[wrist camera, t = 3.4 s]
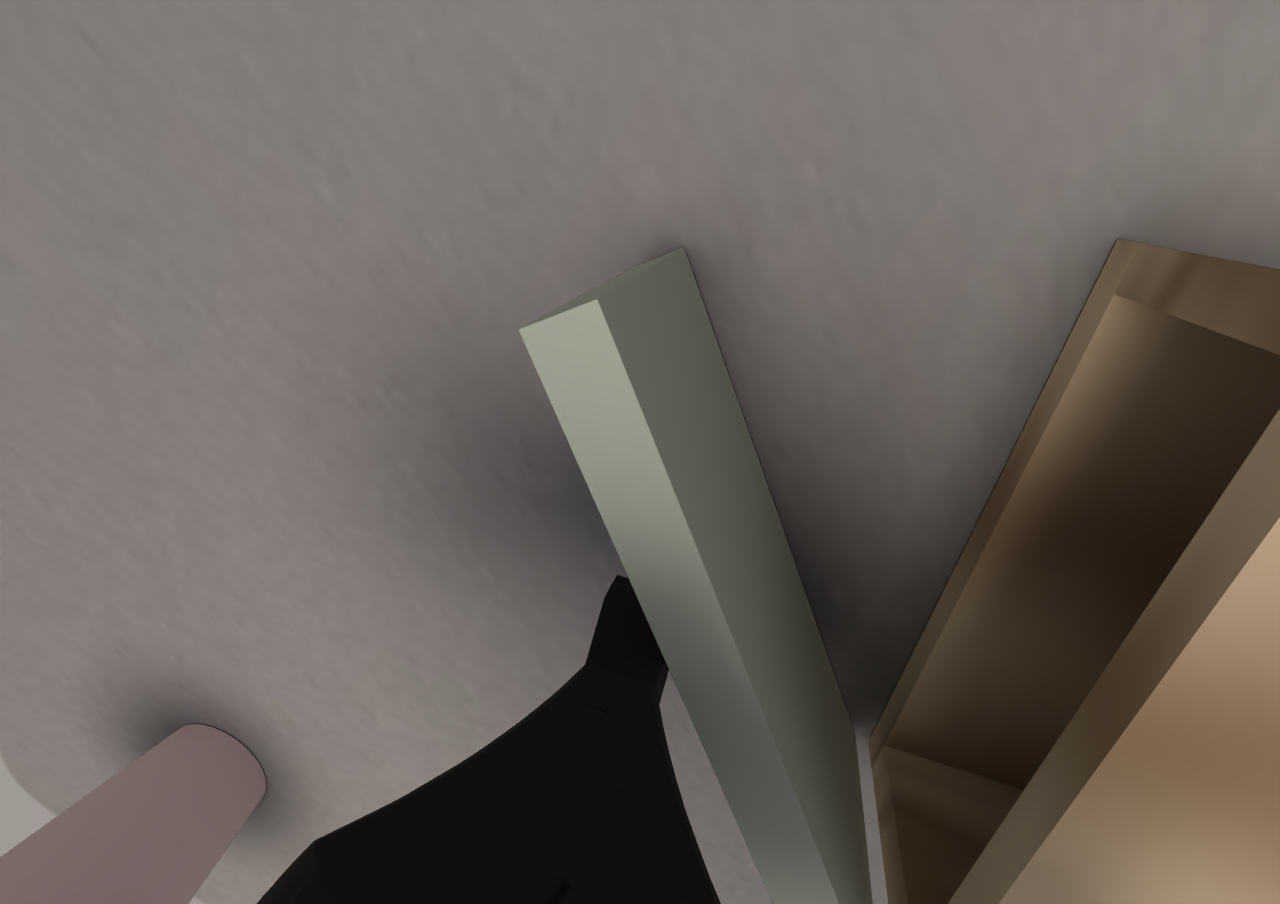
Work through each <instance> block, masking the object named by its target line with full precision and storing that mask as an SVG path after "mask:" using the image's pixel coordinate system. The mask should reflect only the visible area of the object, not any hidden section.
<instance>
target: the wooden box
mask: <svg viewBox="0 0 1280 904" xmlns="http://www.w3.org/2000/svg"><path fill="white" fill-rule="evenodd" d="M869 749H870V757H871V765H872V773H873V781H874V790H875V798H876V806H877V814H878V822H879V830H880V838H881V846H882V854H883V862H884V871H885V879H886V887H887V895H888V903H889V904H1280V270H1278V269H1273V268H1268V267H1263V266H1257V265H1252V264H1247V263H1242V262H1237V261H1231V260H1226V259H1221V258H1216V257H1210V256H1205V255H1200V254H1195V253H1190V252H1184V251H1179V250H1174V249H1169V248H1163V247H1158V246H1153V245H1148V244H1143V243H1137V242H1132V241H1127V240H1122V239H1117V241H1116V243H1115V245H1114V247H1113V249H1112V251H1111V253H1110V255H1109V257H1108V259H1107V261H1106V263H1105V265H1104V267H1103V269H1102V272H1101V274H1100V276H1099V278H1098V280H1097V282H1096V284H1095V286H1094V288H1093V290H1092V292H1091V294H1090V296H1089V298H1088V300H1087V302H1086V304H1085V306H1084V308H1083V310H1082V312H1081V314H1080V316H1079V318H1078V320H1077V322H1076V324H1075V326H1074V328H1073V330H1072V332H1071V334H1070V336H1069V338H1068V340H1067V342H1066V344H1065V346H1064V348H1063V350H1062V352H1061V354H1060V356H1059V358H1058V360H1057V362H1056V364H1055V366H1054V369H1053V371H1052V373H1051V375H1050V377H1049V379H1048V381H1047V383H1046V385H1045V387H1044V389H1043V391H1042V393H1041V395H1040V397H1039V399H1038V401H1037V403H1036V405H1035V407H1034V409H1033V411H1032V413H1031V415H1030V417H1029V419H1028V421H1027V423H1026V425H1025V427H1024V429H1023V431H1022V433H1021V435H1020V437H1019V439H1018V441H1017V443H1016V445H1015V447H1014V449H1013V451H1012V453H1011V455H1010V457H1009V459H1008V461H1007V463H1006V465H1005V468H1004V470H1003V472H1002V474H1001V476H1000V478H999V480H998V482H997V484H996V486H995V488H994V490H993V492H992V494H991V496H990V498H989V500H988V502H987V504H986V506H985V508H984V510H983V512H982V514H981V516H980V518H979V520H978V522H977V524H976V526H975V528H974V530H973V532H972V534H971V536H970V538H969V540H968V542H967V544H966V546H965V548H964V550H963V552H962V554H961V556H960V558H959V560H958V562H957V564H956V567H955V569H954V571H953V573H952V575H951V577H950V579H949V581H948V583H947V585H946V587H945V589H944V591H943V593H942V595H941V597H940V599H939V601H938V603H937V605H936V607H935V609H934V611H933V613H932V615H931V617H930V619H929V621H928V623H927V625H926V627H925V629H924V631H923V633H922V635H921V637H920V639H919V641H918V643H917V645H916V647H915V649H914V651H913V653H912V655H911V657H910V659H909V661H908V664H907V666H906V668H905V670H904V672H903V674H902V676H901V678H900V680H899V682H898V684H897V686H896V688H895V690H894V692H893V694H892V696H891V698H890V700H889V702H888V704H887V706H886V708H885V710H884V712H883V714H882V716H881V718H880V720H879V722H878V724H877V726H876V728H875V730H874V732H873V734H872V736H871V738H870V740H869Z"/></svg>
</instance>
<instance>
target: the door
mask: <svg viewBox="0 0 1280 904" xmlns="http://www.w3.org/2000/svg"><path fill="white" fill-rule="evenodd" d="M518 330H519V332H520V334H521V336H522V339H523V341H524V343H525V345H526V348H527V350H528V352H529V354H530V357H531V359H532V361H533V363H534V366H535V368H536V370H537V372H538V375H539V377H540V379H541V381H542V384H543V386H544V388H545V391H546V393H547V395H548V397H549V400H550V402H551V404H552V406H553V409H554V411H555V413H556V415H557V418H558V420H559V422H560V424H561V427H562V429H563V431H564V433H565V436H566V438H567V440H568V442H569V445H570V447H571V449H572V451H573V454H574V456H575V458H576V460H577V463H578V465H579V467H580V469H581V472H582V474H583V476H584V479H585V481H586V483H587V485H588V488H589V490H590V492H591V494H592V497H593V499H594V501H595V503H596V506H597V508H598V510H599V512H600V515H601V517H602V519H603V521H604V524H605V526H606V528H607V530H608V533H609V535H610V537H611V539H612V542H613V544H614V546H615V548H616V551H617V553H618V555H619V557H620V560H621V562H622V564H623V567H624V569H625V571H626V573H627V576H628V578H629V580H630V582H631V585H632V587H633V589H634V591H635V594H636V596H637V598H638V600H639V603H640V605H641V607H642V609H643V612H644V614H645V616H646V618H647V621H648V623H649V625H650V627H651V630H652V632H653V634H654V636H655V639H656V641H657V643H658V645H659V648H660V650H661V652H662V655H663V657H664V659H665V661H666V664H667V666H668V668H669V670H670V673H671V675H672V677H673V679H674V682H675V684H676V686H677V688H678V691H679V693H680V695H681V697H682V700H683V702H684V704H685V706H686V709H687V711H688V713H689V715H690V718H691V720H692V722H693V724H694V727H695V729H696V731H697V733H698V736H699V738H700V740H701V742H702V745H703V747H704V749H705V752H706V754H707V756H708V758H709V761H710V763H711V765H712V767H713V770H714V772H715V774H716V776H717V779H718V781H719V783H720V785H721V788H722V790H723V792H724V794H725V797H726V799H727V801H728V803H729V806H730V808H731V810H732V812H733V815H734V817H735V819H736V821H737V824H738V826H739V828H740V830H741V833H742V835H743V837H744V840H745V842H746V844H747V846H748V849H749V851H750V853H751V855H752V858H753V860H754V862H755V864H756V867H757V869H758V871H759V873H760V876H761V878H762V880H763V882H764V885H765V887H766V889H767V891H768V894H769V896H770V898H771V900H772V903H773V904H873V903H872V894H871V884H870V874H869V864H868V854H867V844H866V834H865V824H864V815H863V805H862V795H861V785H860V775H859V765H858V755H857V745H856V736H855V732H854V729H853V726H852V724H851V721H850V718H849V715H848V712H847V709H846V707H845V704H844V701H843V698H842V695H841V692H840V690H839V687H838V684H837V681H836V678H835V675H834V672H833V670H832V667H831V664H830V661H829V658H828V655H827V653H826V650H825V647H824V644H823V641H822V638H821V636H820V633H819V630H818V627H817V624H816V621H815V619H814V616H813V613H812V610H811V607H810V604H809V601H808V599H807V596H806V593H805V590H804V587H803V584H802V582H801V579H800V576H799V573H798V570H797V567H796V565H795V562H794V559H793V556H792V553H791V550H790V547H789V545H788V542H787V539H786V536H785V533H784V530H783V528H782V525H781V522H780V519H779V516H778V513H777V511H776V508H775V505H774V502H773V499H772V496H771V494H770V491H769V488H768V485H767V482H766V479H765V476H764V474H763V471H762V468H761V465H760V462H759V459H758V457H757V454H756V451H755V448H754V445H753V442H752V440H751V437H750V434H749V431H748V428H747V425H746V422H745V420H744V417H743V414H742V411H741V408H740V405H739V403H738V400H737V397H736V394H735V391H734V388H733V386H732V383H731V380H730V377H729V374H728V371H727V369H726V366H725V363H724V360H723V357H722V354H721V351H720V349H719V346H718V343H717V340H716V337H715V334H714V332H713V329H712V326H711V323H710V320H709V317H708V315H707V312H706V309H705V306H704V303H703V300H702V298H701V295H700V292H699V289H698V286H697V283H696V280H695V278H694V275H693V272H692V269H691V266H690V263H689V261H688V258H687V255H686V252H685V249H684V247H682V248H680V249H677V250H675V251H672V252H670V253H667V254H665V255H662V256H660V257H657V258H655V259H652V260H650V261H647V262H645V263H642V264H640V265H637V266H635V267H633V268H631V269H629V270H627V271H626V272H624V273H622V274H620V275H618V276H616V277H615V278H613V279H611V280H609V281H607V282H605V283H603V284H602V285H600V286H598V287H596V288H594V289H592V290H591V291H589V292H587V293H585V294H583V295H581V296H579V297H578V298H576V299H574V300H572V301H570V302H568V303H567V304H565V305H563V306H561V307H559V308H557V309H555V310H554V311H552V312H550V313H548V314H546V315H544V316H542V317H541V318H539V319H537V320H535V321H533V322H531V323H530V324H528V325H526V326H524V327H522V328H520V329H518Z"/></svg>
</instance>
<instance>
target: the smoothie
mask: <svg viewBox="0 0 1280 904" xmlns="http://www.w3.org/2000/svg"><path fill="white" fill-rule="evenodd" d="M265 791H266V779H265V775H264V772H263V770H262V768H261V766H260V764H259V763H258V761H257V760H256V758H255V757H254V756H253V755H252V754H251V752H250V751H249V750H248V749H247V748H246V747H245V746H243V745H242V744H241V743H240V742H239V741H237V740H236V739H234V738H233V737H231V736H230V735H228V734H226V733H225V732H223V731H221V730H218V729H216V728H213V727H210V726H206V725H200V724H191V725H186V726H183V727H181V728H180V729H178V730H177V731H175V732H174V733H173V734H171V735H170V736H168V737H167V738H166V739H164V740H163V741H161V742H160V743H159V744H157V745H156V746H154V747H153V748H152V749H150V750H149V751H147V752H146V753H145V754H143V755H142V756H141V757H139V758H138V759H136V760H135V761H134V762H132V763H131V764H129V765H128V766H127V767H125V768H124V769H122V770H121V771H120V772H118V773H117V774H115V775H114V776H113V777H111V778H110V779H108V780H107V781H106V782H104V783H103V784H101V785H100V786H99V787H97V788H96V789H95V790H93V791H92V792H90V793H89V794H88V795H86V796H85V797H83V798H82V799H81V800H79V801H78V802H76V803H75V804H74V805H72V806H71V807H69V808H68V809H67V810H65V811H64V812H62V813H61V814H60V815H58V816H57V817H56V818H54V819H53V820H51V821H50V822H49V823H47V824H46V825H45V826H43V827H42V828H40V829H39V830H37V831H36V832H35V833H33V834H32V835H31V836H29V837H28V838H26V839H25V840H24V841H22V842H21V843H19V844H18V845H17V846H15V847H14V848H12V849H11V850H10V851H8V852H7V853H5V854H4V855H3V856H1V857H0V904H189V902H190V901H191V899H192V898H193V897H194V895H195V894H196V892H197V891H198V889H199V888H200V887H201V885H202V884H203V882H204V881H205V879H206V878H207V876H208V875H209V874H210V872H211V871H212V869H213V868H214V866H215V865H216V863H217V862H218V861H219V859H220V858H221V856H222V855H223V853H224V852H225V851H226V849H227V848H228V846H229V845H230V843H231V842H232V840H233V839H234V838H235V836H236V835H237V833H238V832H239V830H240V829H241V827H242V826H243V825H244V823H245V822H246V820H247V819H248V817H249V816H250V815H251V813H252V812H253V810H254V809H255V807H256V806H257V804H258V803H259V802H260V800H261V799H262V797H263V796H264V794H265Z"/></svg>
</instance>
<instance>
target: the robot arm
mask: <svg viewBox="0 0 1280 904" xmlns="http://www.w3.org/2000/svg"><path fill="white" fill-rule="evenodd" d="M668 671H669V668H668V666H667V664H666V661H665V659H664V657H663V655H662V652H661V650H660V648H659V645H658V643H657V641H656V639H655V636H654V634H653V632H652V630H651V627H650V625H649V623H648V621H647V618H646V616H645V614H644V612H643V609H642V607H641V605H640V603H639V600H638V598H637V596H636V594H635V591H634V589H633V587H632V585H631V582H630V580H629V578H626V577H622V576H619V575H617V576H616V578H615V580H614V581H613V583H612V585H611V587H610V589H609V590H608V592H607V594H606V596H605V598H604V602H603V605H602V608H601V612H600V615H599V619H598V622H597V626H596V629H595V633H594V636H593V639H592V643H591V646H590V650H589V653H588V657H587V660H586V664H585V665H584V666H583V667H582V668H581V669H580V670H579V671H578V672H577V673H576V674H575V675H574V676H573V677H572V678H571V679H570V680H569V681H568V682H567V683H566V684H564V685H563V686H562V687H561V688H560V689H559V690H558V691H557V692H556V693H554V694H553V695H552V696H551V697H550V698H549V699H547V700H546V701H545V702H544V703H543V704H541V705H540V706H539V707H538V708H537V709H535V710H534V711H533V712H532V713H530V714H529V715H528V716H526V717H525V718H524V719H523V720H521V721H520V722H519V723H517V724H516V725H515V726H513V727H512V728H511V729H509V730H508V731H506V732H505V733H504V734H502V735H501V736H499V737H498V738H497V739H495V740H494V741H492V742H491V743H490V744H488V745H487V746H485V747H484V748H482V749H481V750H479V751H478V752H476V753H475V754H473V755H472V756H470V757H469V758H467V759H466V760H464V761H463V762H461V763H459V764H458V765H456V766H454V767H453V768H451V769H449V770H448V771H446V772H444V773H443V774H441V775H439V776H437V777H436V778H434V779H432V780H431V781H429V782H427V783H426V784H424V785H422V786H420V787H419V788H417V789H415V790H414V791H412V792H410V793H409V794H407V795H405V796H403V797H401V798H399V799H398V800H396V801H394V802H392V803H390V804H388V805H386V806H384V807H382V808H380V809H378V810H376V811H374V812H372V813H370V814H368V815H366V816H364V817H362V818H360V819H358V820H356V821H354V822H352V823H350V824H348V825H345V826H343V827H341V828H339V829H337V830H335V831H333V832H331V833H329V834H327V835H325V836H323V837H321V838H319V839H317V840H315V841H314V842H313V843H312V844H311V845H310V846H309V847H308V848H307V849H306V850H305V851H304V852H303V853H302V854H301V855H300V856H299V857H298V858H297V859H296V860H295V861H294V862H293V863H292V864H291V865H290V866H289V868H288V869H287V870H286V871H285V872H284V873H283V874H282V875H281V876H280V878H279V879H278V880H277V881H276V882H275V883H274V885H273V886H272V887H271V888H270V889H269V890H268V891H267V892H266V893H265V895H264V896H263V897H262V898H261V899H260V900H259V902H258V903H257V904H721V903H720V901H719V898H718V896H717V893H716V891H715V889H714V886H713V884H712V882H711V879H710V877H709V874H708V871H707V869H706V866H705V863H704V860H703V858H702V855H701V852H700V849H699V847H698V844H697V841H696V838H695V836H694V833H693V830H692V827H691V825H690V822H689V819H688V816H687V813H686V810H685V807H684V804H683V800H682V797H681V794H680V790H679V787H678V784H677V780H676V777H675V773H674V769H673V766H672V762H671V758H670V754H669V750H668V746H667V742H666V737H665V732H664V728H663V723H662V717H661V712H660V706H659V703H660V700H661V696H662V693H663V689H664V685H665V682H666V678H667V675H668Z"/></svg>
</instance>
